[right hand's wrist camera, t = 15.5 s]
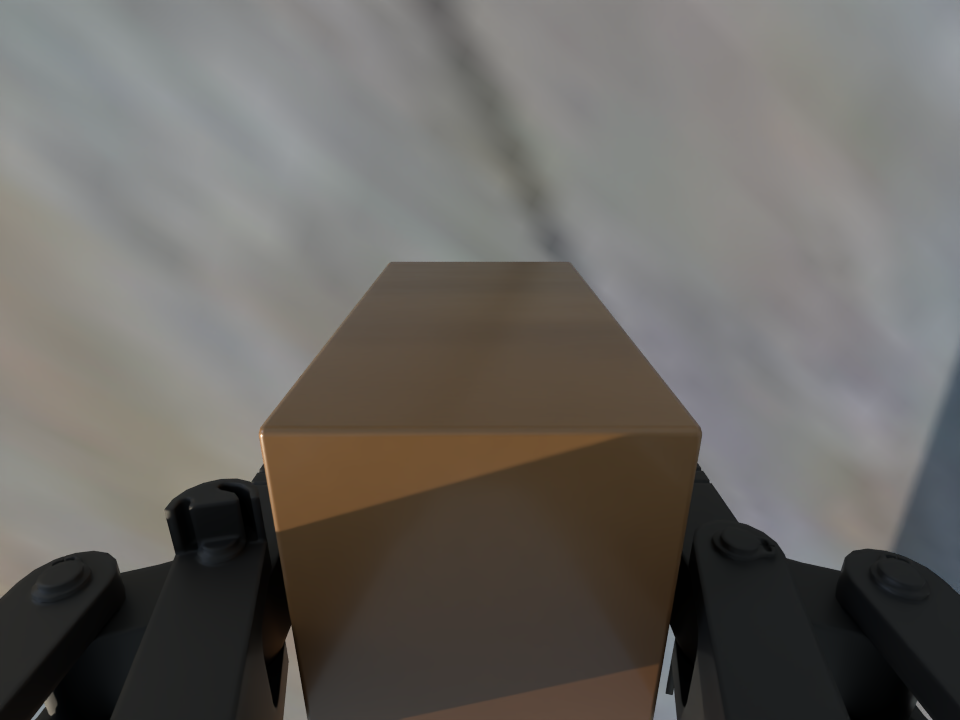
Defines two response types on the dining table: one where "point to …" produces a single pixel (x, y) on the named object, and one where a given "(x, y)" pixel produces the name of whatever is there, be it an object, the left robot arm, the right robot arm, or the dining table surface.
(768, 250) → the dining table surface
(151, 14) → the dining table surface
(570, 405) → the bar
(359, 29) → the dining table surface
